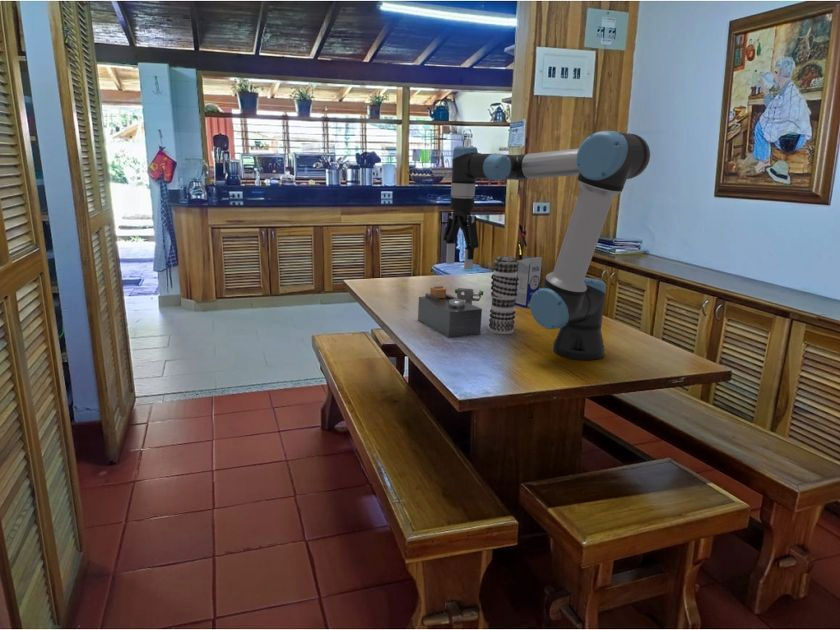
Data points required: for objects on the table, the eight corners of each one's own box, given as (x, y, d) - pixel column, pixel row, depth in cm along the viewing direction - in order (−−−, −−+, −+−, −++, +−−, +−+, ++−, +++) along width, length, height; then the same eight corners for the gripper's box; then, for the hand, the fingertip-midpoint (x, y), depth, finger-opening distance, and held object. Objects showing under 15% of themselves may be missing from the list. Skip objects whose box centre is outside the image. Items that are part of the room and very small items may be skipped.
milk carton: (526, 308, 229) (531, 258, 224) (513, 304, 234) (517, 255, 229) (537, 306, 233) (542, 256, 228) (524, 302, 238) (528, 254, 233)
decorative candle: (484, 332, 195) (489, 258, 189) (491, 325, 203) (496, 254, 197) (511, 335, 192) (517, 260, 185) (517, 328, 200) (523, 256, 194)
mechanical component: (481, 318, 212) (482, 291, 209) (453, 315, 214) (454, 289, 211) (482, 316, 215) (483, 289, 212) (454, 313, 217) (455, 287, 214)
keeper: (445, 297, 203) (446, 287, 202) (435, 298, 201) (436, 288, 201) (440, 295, 207) (440, 285, 206) (430, 295, 205) (430, 285, 204)
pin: (466, 331, 194) (467, 302, 192) (452, 332, 192) (454, 303, 189) (458, 327, 199) (459, 298, 196) (444, 328, 196) (446, 299, 194)
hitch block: (480, 333, 193) (482, 306, 190) (448, 337, 187) (450, 309, 185) (447, 317, 212) (448, 291, 209) (417, 320, 206) (418, 294, 204)
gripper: (493, 200, 176) (488, 272, 181) (454, 194, 196) (451, 259, 201) (472, 200, 172) (467, 273, 178) (434, 194, 192) (431, 260, 198)
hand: (458, 266), depth 190 cm, fingers open, 11 cm apart
